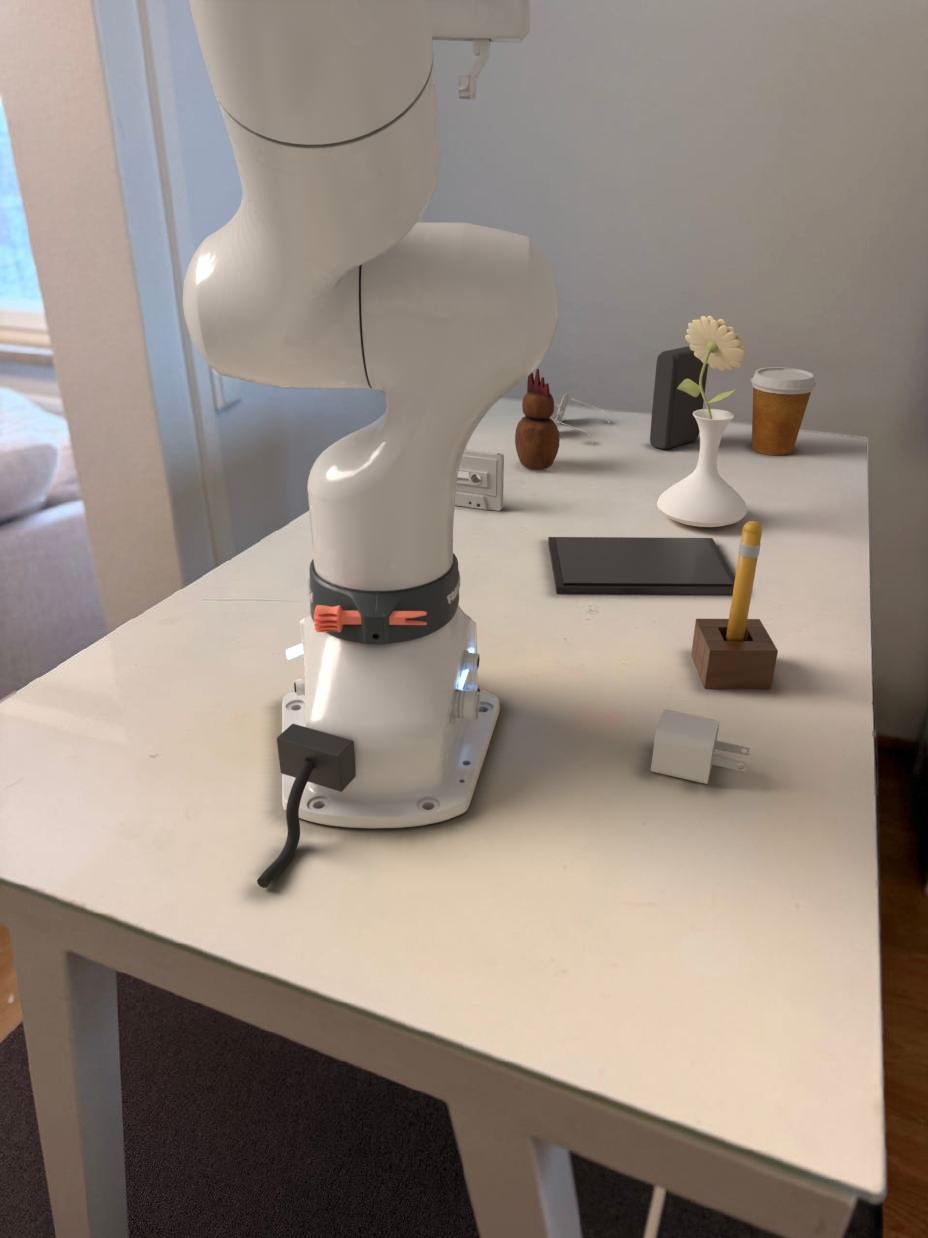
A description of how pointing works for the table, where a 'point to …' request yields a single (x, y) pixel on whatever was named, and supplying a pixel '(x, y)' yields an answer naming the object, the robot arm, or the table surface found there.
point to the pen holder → (733, 655)
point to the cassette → (481, 480)
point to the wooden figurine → (537, 427)
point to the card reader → (675, 398)
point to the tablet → (639, 566)
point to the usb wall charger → (690, 747)
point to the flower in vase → (707, 436)
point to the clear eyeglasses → (562, 410)
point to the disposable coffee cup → (779, 408)
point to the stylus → (744, 581)
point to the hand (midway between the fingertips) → (416, 97)
